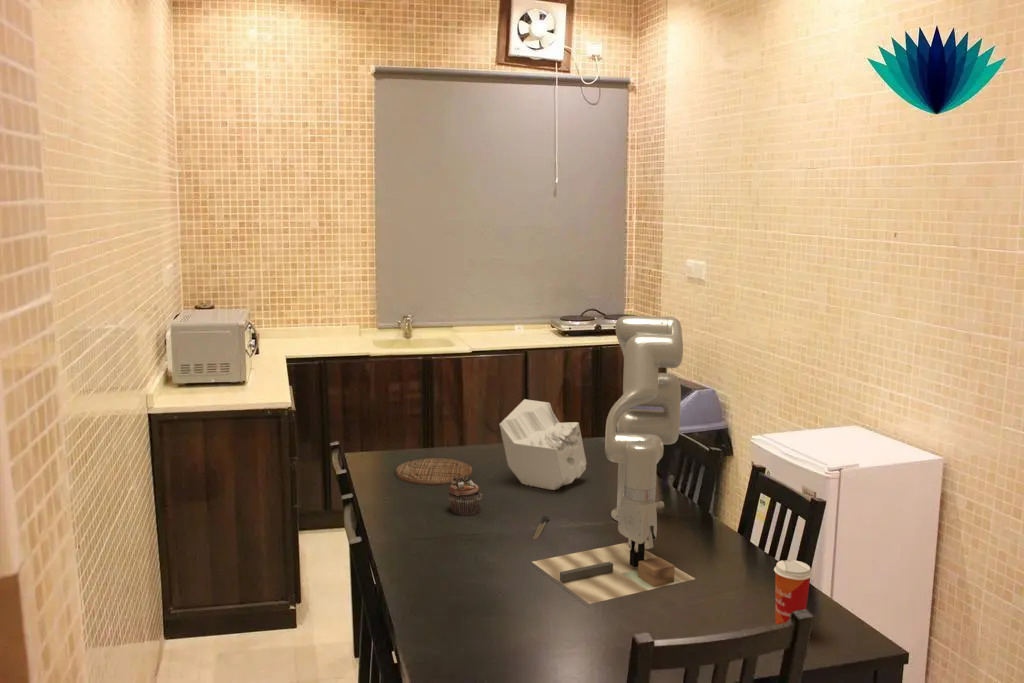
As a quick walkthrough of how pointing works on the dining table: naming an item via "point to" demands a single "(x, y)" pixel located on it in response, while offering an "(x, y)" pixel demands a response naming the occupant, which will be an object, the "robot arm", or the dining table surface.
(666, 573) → the walnut block
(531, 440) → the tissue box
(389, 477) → the dining table surface
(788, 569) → the paper cup
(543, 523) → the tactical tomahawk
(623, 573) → the board
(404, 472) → the trivet
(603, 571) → the dark gray bar
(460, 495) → the cupcake
